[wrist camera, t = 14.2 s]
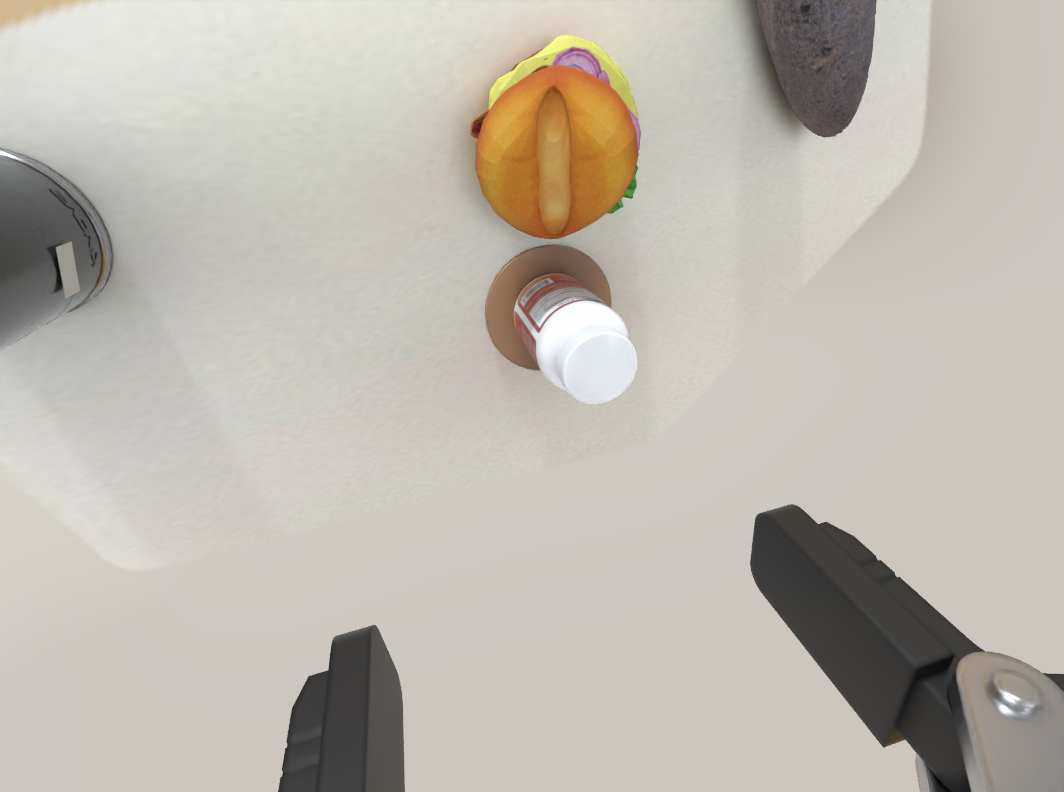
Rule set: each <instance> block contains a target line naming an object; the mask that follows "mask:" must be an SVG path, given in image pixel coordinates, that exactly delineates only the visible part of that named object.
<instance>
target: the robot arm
mask: <svg viewBox="0 0 1064 792" xmlns="http://www.w3.org/2000/svg"><path fill="white" fill-rule="evenodd" d="M111 262H112V252H111V245H110V241H109V237H108V235H107V232H106V229H105V227H104V225H103V223H102V221H101V219H100V217H99V216H98V214H97V212H96V211H95V210H94V208H93V207H92V205H91V204H90V203H89V202H88V201H87V199H86V198H85V197H84V196H83V195H82V194H81V193H80V192H79V191H78V190H77V189H76V188H75V187H74V186H73V185H72V184H70V183H69V182H68V181H67V180H65V179H64V178H63V177H62V176H60V175H59V174H57V173H56V172H54V171H53V170H51V169H50V168H48V167H46V166H44V165H43V164H41V163H39V162H37V161H35V160H33V159H30V158H28V157H26V156H23V155H21V154H17V153H14V152H11V151H8V150H4V149H0V351H1V350H3V349H5V348H6V347H8V346H10V345H11V344H13V343H15V342H17V341H18V340H20V339H22V338H23V337H25V336H27V335H28V334H30V333H32V332H34V331H35V330H37V329H39V328H40V327H42V326H44V325H46V324H48V323H50V322H51V321H53V320H55V319H56V318H58V317H60V316H61V315H63V314H65V313H68V312H71V311H73V310H75V309H77V308H79V307H80V306H82V305H84V304H85V303H87V302H88V301H90V300H91V299H93V298H94V297H95V296H96V295H97V294H98V293H99V292H100V291H101V289H102V288H103V287H104V285H105V283H106V281H107V279H108V276H109V274H110V269H111ZM750 565H751V571H752V575H753V578H754V580H755V582H756V584H757V586H758V588H759V590H760V591H761V593H762V594H763V595H764V596H765V598H766V599H767V600H768V602H769V603H770V604H771V605H772V607H773V608H774V609H775V610H776V612H777V613H778V614H779V615H780V617H781V618H782V619H783V621H784V622H785V623H786V624H787V626H788V627H789V628H790V629H791V631H792V632H793V633H794V634H795V636H796V637H797V638H798V640H799V641H800V642H801V643H802V645H803V646H804V647H805V649H806V650H807V651H808V652H809V654H810V655H811V656H812V657H813V658H814V660H815V661H816V662H817V664H818V665H819V666H820V667H821V669H822V670H823V671H824V673H825V674H826V675H827V676H828V678H829V679H830V680H831V681H832V683H833V684H834V685H835V687H836V688H837V689H838V690H839V692H840V693H841V694H842V695H843V697H844V698H845V699H846V701H847V702H848V703H849V704H850V706H851V707H852V708H853V709H854V711H855V712H856V713H857V714H858V716H859V717H860V718H861V720H862V721H863V722H864V723H865V725H866V726H867V727H868V728H869V730H870V731H871V732H872V734H873V735H874V736H875V737H876V739H877V740H878V741H879V742H880V744H881V745H882V746H883V747H886V746H889V745H891V744H894V743H897V742H900V741H902V740H906V741H907V742H908V743H909V744H910V745H911V747H912V748H913V749H914V750H915V752H916V753H917V754H916V759H915V761H916V770H917V776H918V781H919V788H920V792H1064V674H1046V673H1041V672H1040V671H1038V670H1037V669H1035V668H1034V667H1032V666H1030V665H1028V664H1026V663H1024V662H1022V661H1020V660H1018V659H1015V658H1013V657H1010V656H1007V655H1004V654H1000V653H994V652H985V651H984V650H982V649H981V648H979V647H978V646H977V645H975V644H974V643H973V642H972V641H971V640H969V639H968V638H967V637H966V636H965V635H964V634H963V633H961V632H960V631H959V630H958V629H957V628H956V627H955V626H953V624H951V623H950V622H949V621H948V620H947V619H946V618H945V617H944V616H942V615H941V614H940V613H939V612H938V611H937V610H936V609H935V608H933V607H932V606H931V605H930V604H929V603H928V602H927V601H926V600H925V599H923V598H922V597H921V596H920V595H919V594H918V593H917V592H916V591H915V590H913V589H912V588H911V587H910V586H909V585H908V584H907V583H905V582H904V581H903V580H902V579H901V578H900V577H896V576H895V573H894V572H893V571H892V570H891V569H890V568H889V567H888V566H887V565H885V564H884V563H883V562H882V561H881V560H879V561H878V560H877V558H876V556H875V555H874V554H873V553H872V552H871V551H870V550H869V549H867V548H866V547H865V546H864V545H863V544H862V543H861V542H860V541H858V539H856V538H855V537H854V536H852V535H850V534H849V533H847V532H845V531H843V530H841V529H839V528H837V527H835V526H833V525H831V524H829V523H827V522H824V523H821V524H817V523H816V522H815V521H814V520H813V519H812V518H811V517H810V516H809V515H808V514H807V513H806V512H805V511H804V510H802V509H801V508H800V507H798V506H796V505H793V504H791V505H787V506H784V507H780V508H777V509H773V510H770V511H767V512H763V513H760V514H758V515H757V516H756V519H755V526H754V535H753V543H752V553H751V561H750ZM287 745H288V746H287V748H286V749H285V754H284V761H283V767H282V771H283V775H282V777H281V778H280V785H279V790H278V792H405V786H404V740H403V701H402V691H401V686H400V681H399V676H398V673H397V670H396V668H395V665H394V663H393V661H392V659H391V657H390V654H389V652H388V650H387V648H386V645H385V643H384V641H383V638H382V636H381V634H380V632H379V630H378V628H377V626H376V625H372V626H369V627H366V628H362V629H359V630H355V631H352V632H348V633H345V634H341V635H338V636H335V637H334V639H333V641H332V646H331V653H330V662H329V670H328V671H325V672H321V673H318V674H315V675H312V676H309V677H308V679H307V681H306V683H305V685H304V687H303V688H302V690H301V692H300V694H299V696H298V698H297V700H296V702H295V704H294V706H293V708H292V713H291V718H290V724H289V730H288V737H287Z"/></svg>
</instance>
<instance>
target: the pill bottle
mask: <svg viewBox="0 0 1064 792" xmlns="http://www.w3.org/2000/svg"><path fill="white" fill-rule="evenodd" d="M514 323H515V327H516V330H517V332H518V334H519V336H520V338H521V339H522V341H523V343H524V344H525V346H526V347H527V349H528V351H529V352H530V354H531V356H532V357H533V359H534V360H535V362H536V364H537V365H538V367H539V369H540V370H541V372H542V373H543V374H544V376H545V377H546V378H547V380H548V381H549V382H550V383H552V384H553V385H554V386H556V387H557V388H559V389H561V390H564V391H567V392H569V393H570V394H571V395H572V396H573V397H574V398H575V399H577V400H579V401H581V402H583V403H587V404H601V403H605V402H609V401H611V400H613V399H615V398H617V397H618V396H619V395H621V394H622V393H623V392H624V391H625V390H626V389H627V388H628V387H629V385H630V384H631V382H632V381H633V379H634V377H635V374H636V370H637V363H638V361H637V354H636V351H635V348H634V347H633V345H632V344H631V342H630V341H629V335H628V331H627V328H626V325H625V323H624V322H623V320H622V319H621V317H620V316H619V315H618V314H617V313H616V312H615V311H614V310H613V309H612V308H611V307H609V306H608V305H607V304H606V303H604V302H603V301H602V300H601V299H600V298H598V297H597V296H596V295H595V294H593V293H592V292H591V291H590V290H589V289H587V288H586V287H585V286H584V285H583V284H581V283H580V282H579V281H578V280H576V279H574V278H572V277H570V276H568V275H564V274H557V273H555V274H547V275H543V276H540V277H538V278H536V279H534V280H533V281H531V282H530V283H529V284H528V285H527V286H526V287H525V288H524V289H523V290H522V291H521V293H520V294H519V296H518V298H517V301H516V304H515V307H514Z"/></svg>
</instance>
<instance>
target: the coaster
mask: <svg viewBox="0 0 1064 792" xmlns="http://www.w3.org/2000/svg"><path fill="white" fill-rule="evenodd" d="M555 273H557V274H564V275H568V276H570V277H572V278H574V279H576V280H578V281H579V282H580V283H581V284H583V285H584V286H585V287H586V288H587V289H589V290H590V291H591V292H592V293H593V294H595V295H596V296H597V297H598V298H600V299H601V300H602V301H603V302H604V303H606V304H607V305H608V306H609V307H611V295H610V289H609V285H608V282H607V280H606V277H605V275H604V274H603V272H602V270H601V269H600V267H599V266H598V265H597V264H596V263H595V262H594V261H593V260H592V259H591V258H590V257H588V256H587V255H585V254H584V253H582V252H580V251H578V250H576V249H574V248H570V247H567V246H561V245H546V246H540V247H536V248H533V249H530V250H528V251H525V252H523V253H522V254H520V255H518V256H517V257H515V258H514V259H513V260H511V261H510V262H509V263H508V264H507V265H506V266H505V267H504V268H503V269H502V270H501V271H500V273H499V274H498V275H497V277H496V279H495V280H494V282H493V284H492V286H491V289H490V291H489V294H488V298H487V303H486V323H487V328H488V331H489V334H490V336H491V339H492V341H493V342H494V344H495V346H496V347H497V349H498V350H499V351H500V352H501V353H502V354H503V355H504V356H505V357H506V358H507V359H508V360H510V361H511V362H513V363H515V364H517V365H519V366H521V367H524V368H527V369H532V370H540V369H539V367H538V365H537V364H536V362H535V360H534V359H533V357H532V356H531V354H530V352H529V351H528V349H527V347H526V346H525V344H524V343H523V341H522V339H521V338H520V336H519V334H518V332H517V330H516V327H515V323H514V307H515V304H516V301H517V298H518V296H519V294H520V293H521V291H522V290H523V289H524V288H525V287H526V286H527V285H528V284H529V283H530V282H531V281H533V280H534V279H536V278H538V277H540V276H543V275H547V274H555Z"/></svg>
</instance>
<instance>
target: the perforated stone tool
mask: <svg viewBox="0 0 1064 792" xmlns="http://www.w3.org/2000/svg"><path fill="white" fill-rule="evenodd" d="M756 4H757V9H758V13H759V18H760V22H761V25H762V29H763V33H764V36H765V39H766V42H767V46H768V49H769V52H770V56H771V59H772V61H773V65H774V68H775V71H776V73H777V76H778V79H779V82H780V84H781V87H782V89H783V92H784V94H785V96H786V98H787V100H788V102H789V104H790V106H791V108H792V109H793V111H794V113H795V114H796V116H797V117H798V118H799V120H800V121H801V122H802V123H803V124H804V125H805V126H806V128H808V129H809V130H810V131H812V132H813V133H815V134H816V135H818V136H822V137H832V136H836V134H838V133H841V132H842V131H843V129H845V128H846V127H847V126H848V125H849V124H850V122H851V121H852V119H853V117H854V115H855V113H856V111H857V109H858V106H859V104H860V101H861V99H862V95H863V93H864V90H865V87H866V83H867V78H868V70H869V66H870V63H871V57H872V49H873V37H874V27H875V14H876V0H756Z"/></svg>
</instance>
